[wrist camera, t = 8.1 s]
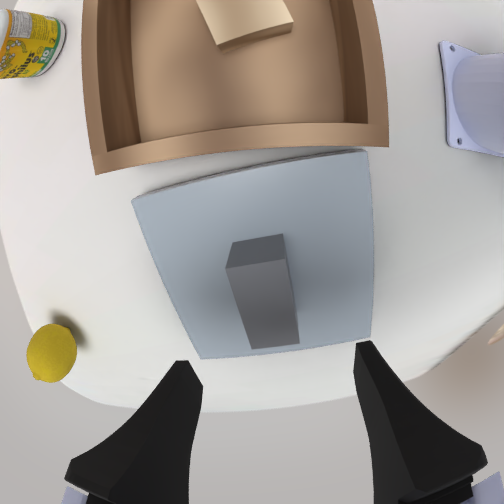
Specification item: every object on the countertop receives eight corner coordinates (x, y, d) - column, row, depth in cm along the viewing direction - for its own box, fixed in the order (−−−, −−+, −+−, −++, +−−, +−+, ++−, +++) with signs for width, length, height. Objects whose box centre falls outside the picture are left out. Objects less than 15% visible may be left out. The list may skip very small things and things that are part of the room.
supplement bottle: (67, 8, 10) (-18, -10, 1) (68, 57, 12) (-31, 53, 4) (25, 41, 10) (-55, 42, 2) (26, 88, 13) (-62, 103, 4)
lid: (353, 146, 15) (388, 160, 10) (362, 316, 21) (379, 365, 17) (147, 189, 17) (106, 218, 13) (206, 338, 24) (193, 387, 19)
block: (265, -17, 9) (264, -32, 8) (290, 32, 11) (293, 21, 9) (200, 4, 10) (191, -8, 9) (223, 53, 12) (216, 45, 10)
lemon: (47, 302, 23) (9, 350, 16) (85, 322, 24) (48, 377, 17) (55, 334, 26) (24, 379, 19) (90, 352, 26) (61, 403, 19)
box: (328, -44, 8) (344, -80, 4) (356, 138, 15) (389, 147, 10) (125, -14, 10) (88, -37, 5) (137, 158, 16) (95, 175, 12)
